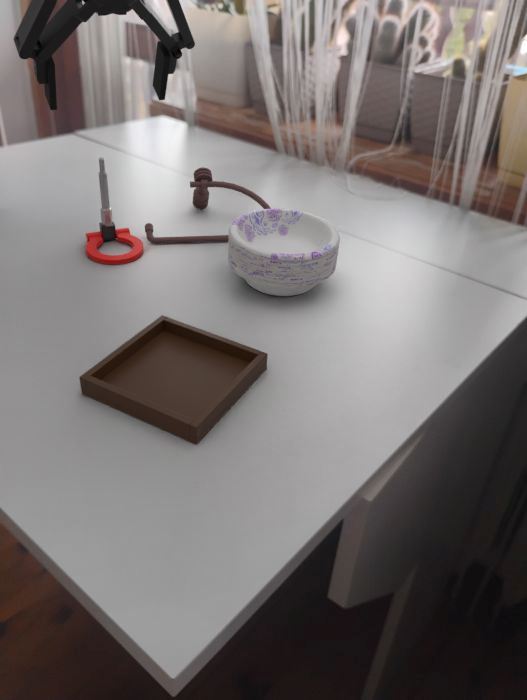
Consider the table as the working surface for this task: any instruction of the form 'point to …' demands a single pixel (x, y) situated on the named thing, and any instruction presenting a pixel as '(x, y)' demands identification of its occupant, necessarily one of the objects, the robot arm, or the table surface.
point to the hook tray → (175, 377)
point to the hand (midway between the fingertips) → (106, 97)
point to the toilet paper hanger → (203, 207)
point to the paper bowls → (282, 250)
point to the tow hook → (110, 230)
